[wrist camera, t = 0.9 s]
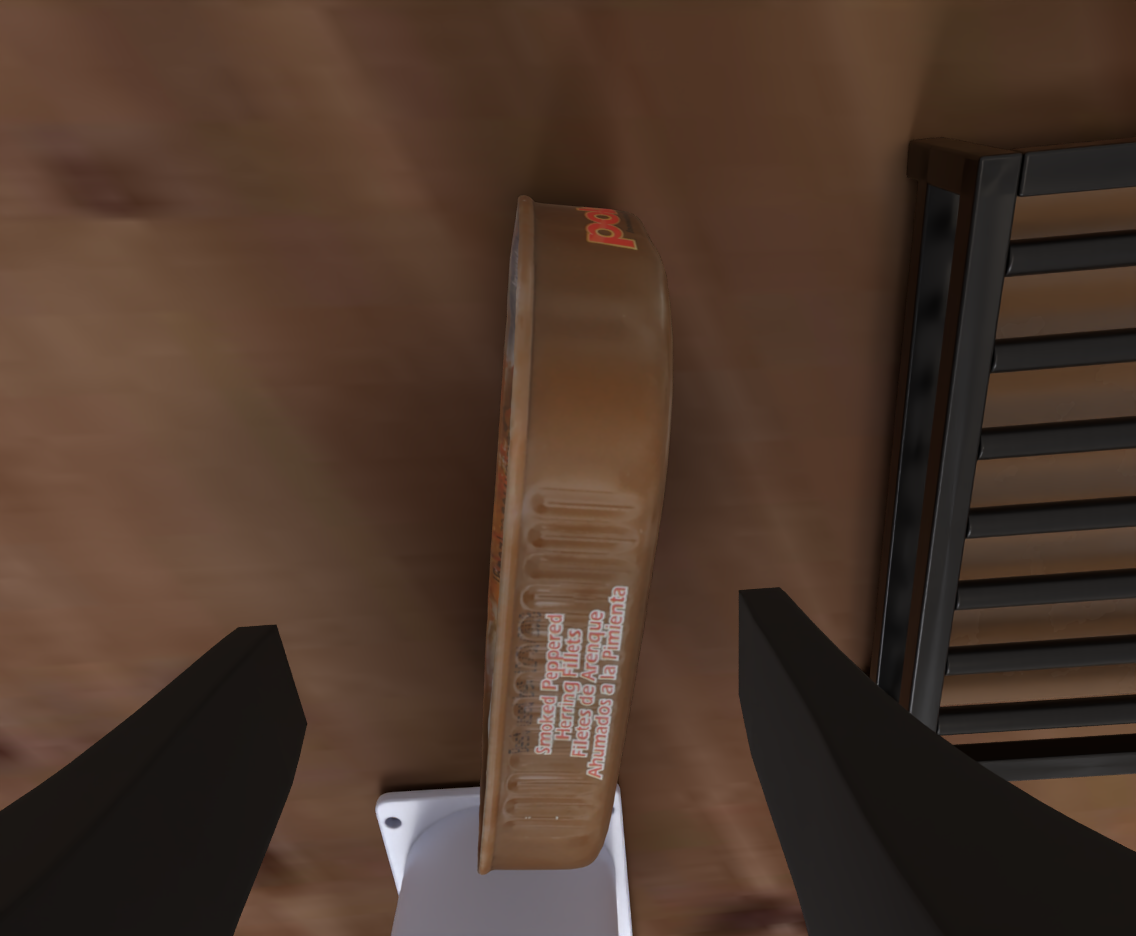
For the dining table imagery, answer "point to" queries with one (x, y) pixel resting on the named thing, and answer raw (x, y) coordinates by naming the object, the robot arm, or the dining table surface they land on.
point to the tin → (571, 528)
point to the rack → (1016, 456)
